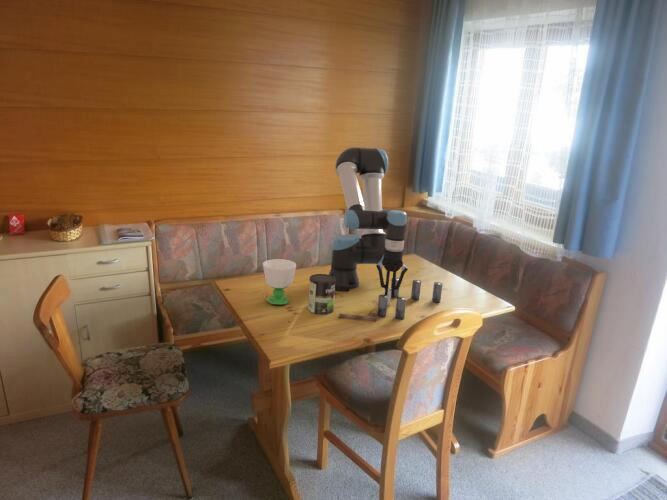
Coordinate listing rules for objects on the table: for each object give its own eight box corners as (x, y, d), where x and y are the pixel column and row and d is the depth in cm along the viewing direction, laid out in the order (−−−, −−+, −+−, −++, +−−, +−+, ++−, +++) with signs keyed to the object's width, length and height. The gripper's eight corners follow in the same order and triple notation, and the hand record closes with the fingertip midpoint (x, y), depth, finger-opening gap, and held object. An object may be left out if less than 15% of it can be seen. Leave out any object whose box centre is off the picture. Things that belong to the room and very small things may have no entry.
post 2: (389, 299, 210) (391, 279, 208) (389, 296, 213) (391, 277, 211) (397, 300, 209) (400, 280, 207) (398, 297, 213) (400, 278, 210)
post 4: (410, 301, 209) (412, 282, 206) (410, 298, 212) (412, 279, 210) (418, 302, 208) (421, 282, 206) (418, 299, 212) (421, 280, 209)
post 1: (376, 318, 189) (378, 297, 186) (377, 315, 192) (379, 294, 190) (385, 320, 188) (387, 298, 186) (386, 316, 191) (388, 295, 189)
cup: (281, 292, 210) (282, 257, 206) (301, 301, 201) (303, 265, 196) (254, 299, 201) (255, 262, 196) (275, 309, 191) (276, 271, 187)
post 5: (431, 304, 207) (434, 284, 205) (431, 301, 211) (433, 281, 208) (440, 305, 207) (442, 285, 205) (439, 302, 210) (442, 282, 208)
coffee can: (338, 310, 194) (340, 277, 190) (324, 318, 186) (326, 284, 182) (317, 304, 199) (319, 271, 195) (302, 312, 191) (304, 278, 187)
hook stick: (338, 320, 185) (339, 315, 185) (339, 314, 191) (339, 309, 190) (375, 323, 184) (375, 318, 184) (375, 317, 190) (375, 312, 190)
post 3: (394, 321, 188) (396, 299, 185) (394, 317, 191) (397, 296, 189) (403, 322, 187) (406, 300, 185) (404, 318, 191) (406, 297, 188)
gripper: (376, 249, 192) (371, 305, 198) (410, 253, 190) (403, 309, 196) (378, 245, 199) (373, 298, 205) (410, 248, 197) (404, 302, 203)
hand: (388, 303), depth 201 cm, fingers closed
